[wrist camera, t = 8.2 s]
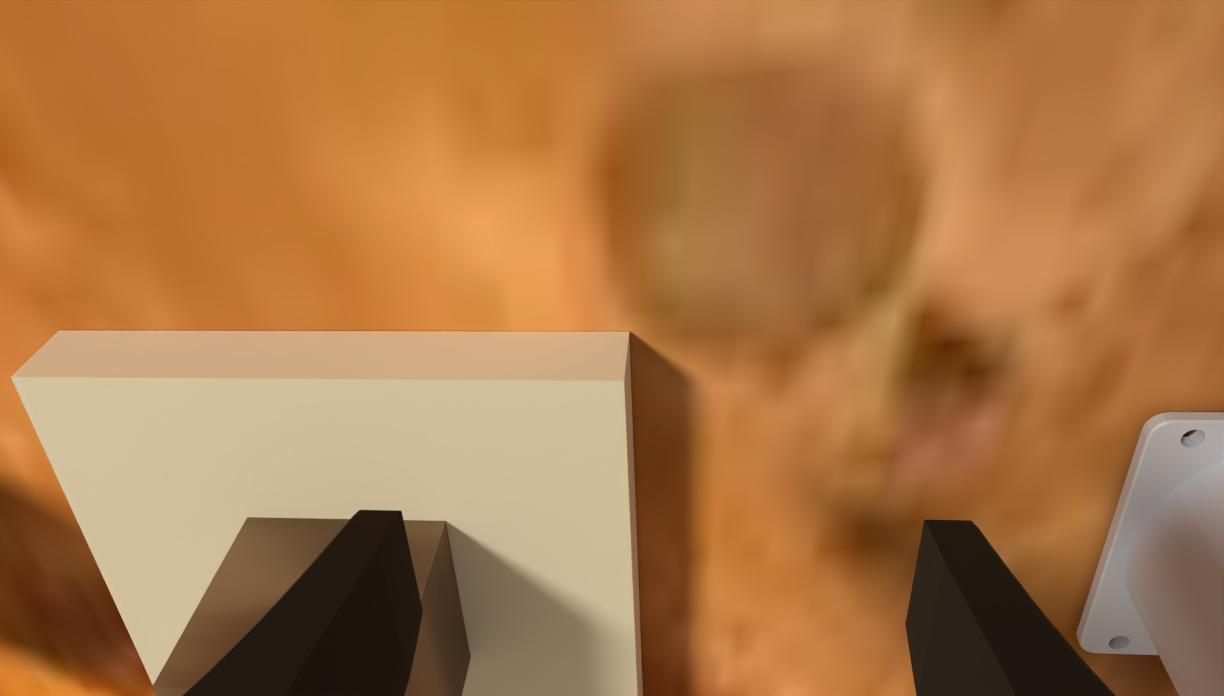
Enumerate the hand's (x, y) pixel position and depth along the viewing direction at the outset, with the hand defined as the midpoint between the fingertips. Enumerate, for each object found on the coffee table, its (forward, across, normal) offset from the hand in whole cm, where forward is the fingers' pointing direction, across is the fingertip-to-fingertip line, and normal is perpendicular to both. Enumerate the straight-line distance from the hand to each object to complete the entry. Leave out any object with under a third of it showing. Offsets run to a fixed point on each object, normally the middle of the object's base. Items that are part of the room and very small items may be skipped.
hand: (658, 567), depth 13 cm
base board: (+9, +8, +9) cm, 15 cm away
